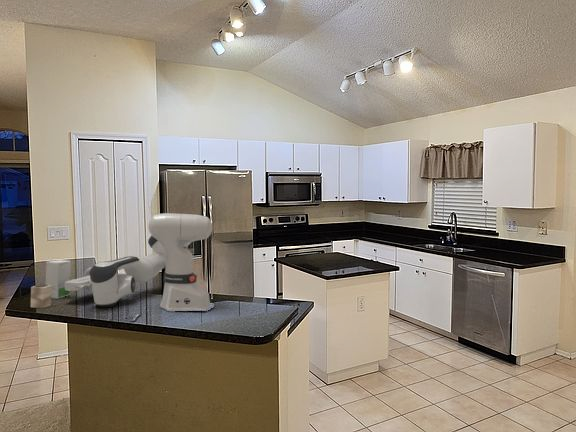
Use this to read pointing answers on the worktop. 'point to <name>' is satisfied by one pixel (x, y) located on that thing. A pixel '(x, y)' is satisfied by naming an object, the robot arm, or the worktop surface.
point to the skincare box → (58, 277)
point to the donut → (87, 272)
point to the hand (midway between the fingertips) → (67, 281)
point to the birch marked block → (41, 296)
